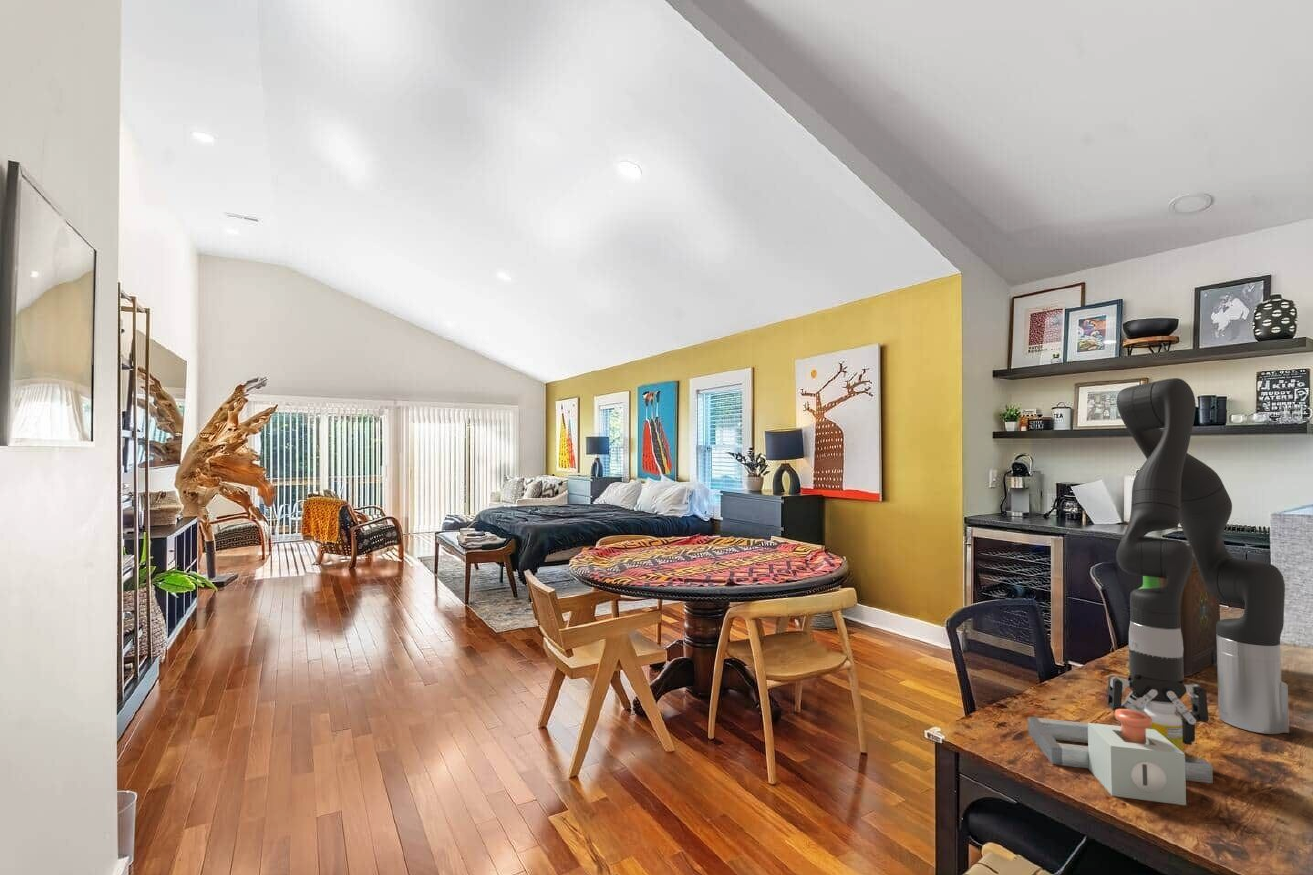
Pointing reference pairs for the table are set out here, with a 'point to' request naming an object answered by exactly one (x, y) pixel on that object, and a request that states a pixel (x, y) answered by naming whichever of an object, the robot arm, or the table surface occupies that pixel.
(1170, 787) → the plunger housing block
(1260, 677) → the robot arm
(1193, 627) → the decorative book
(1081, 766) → the rail
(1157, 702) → the pill bottle
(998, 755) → the table surface
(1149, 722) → the plunger
